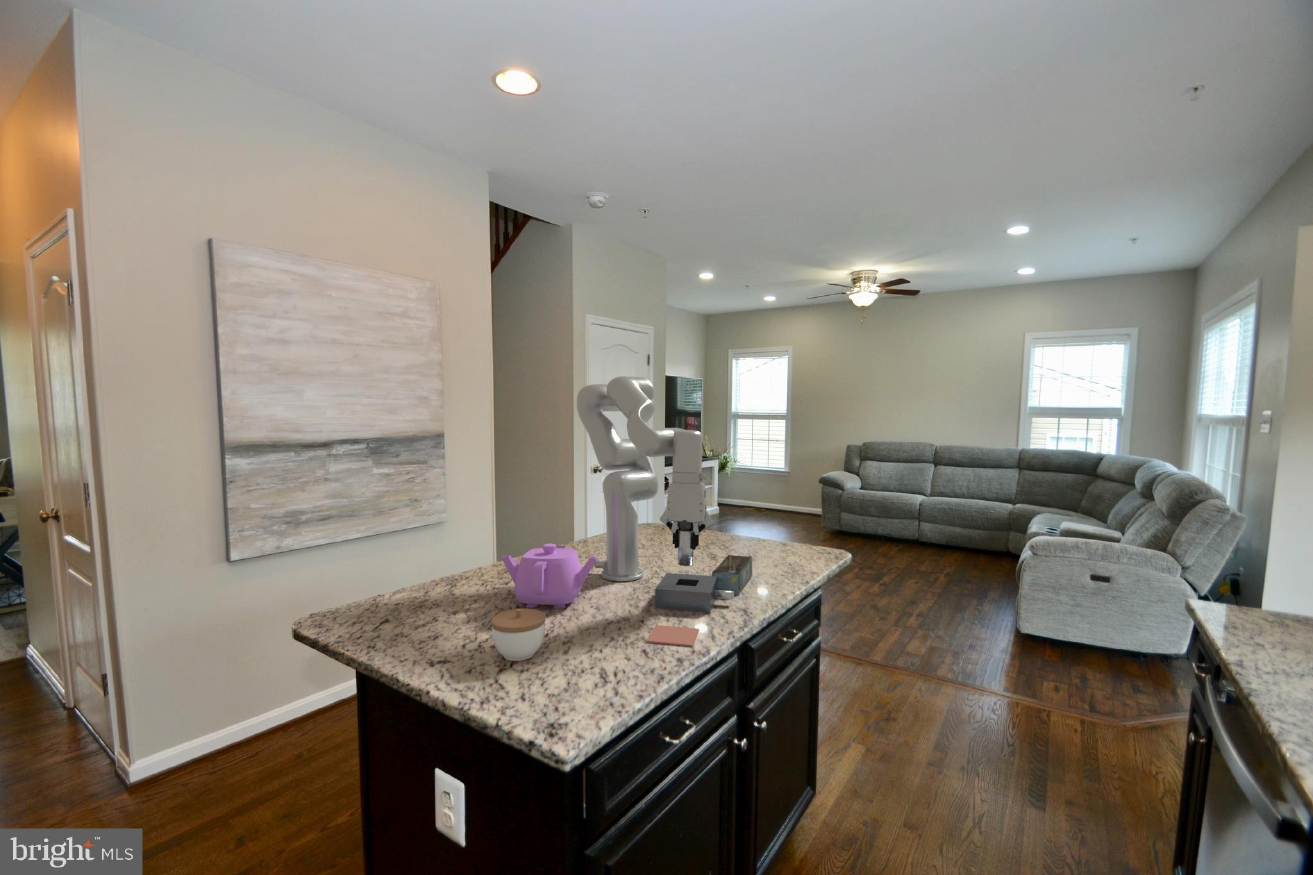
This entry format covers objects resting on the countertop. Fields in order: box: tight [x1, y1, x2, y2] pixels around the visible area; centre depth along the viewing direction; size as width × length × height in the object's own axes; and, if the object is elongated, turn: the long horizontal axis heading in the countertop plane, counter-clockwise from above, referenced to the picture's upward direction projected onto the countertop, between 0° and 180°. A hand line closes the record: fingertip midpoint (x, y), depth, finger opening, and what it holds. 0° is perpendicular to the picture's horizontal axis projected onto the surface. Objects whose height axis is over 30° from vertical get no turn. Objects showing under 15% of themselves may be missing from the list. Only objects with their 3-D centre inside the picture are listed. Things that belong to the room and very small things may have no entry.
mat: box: [646, 624, 700, 648], centre depth 125 cm, size 10×9×1 cm
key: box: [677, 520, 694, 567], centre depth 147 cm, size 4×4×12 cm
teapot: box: [501, 543, 598, 610], centre depth 147 cm, size 19×18×15 cm
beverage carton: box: [711, 554, 753, 596], centre depth 162 cm, size 8×19×7 cm, turn 159°
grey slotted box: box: [654, 572, 735, 614], centre depth 146 cm, size 19×14×5 cm
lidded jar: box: [490, 608, 546, 662], centre depth 115 cm, size 11×11×9 cm
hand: (685, 547), depth 147 cm, fingers closed on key, 4 cm apart
